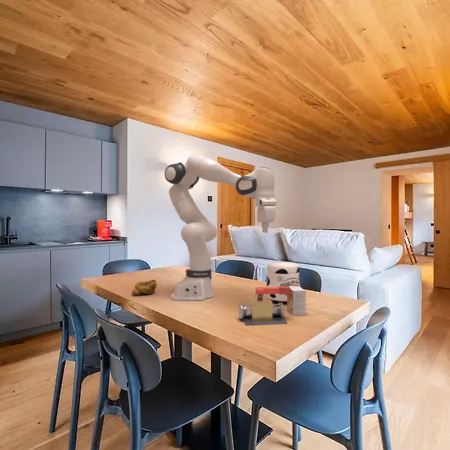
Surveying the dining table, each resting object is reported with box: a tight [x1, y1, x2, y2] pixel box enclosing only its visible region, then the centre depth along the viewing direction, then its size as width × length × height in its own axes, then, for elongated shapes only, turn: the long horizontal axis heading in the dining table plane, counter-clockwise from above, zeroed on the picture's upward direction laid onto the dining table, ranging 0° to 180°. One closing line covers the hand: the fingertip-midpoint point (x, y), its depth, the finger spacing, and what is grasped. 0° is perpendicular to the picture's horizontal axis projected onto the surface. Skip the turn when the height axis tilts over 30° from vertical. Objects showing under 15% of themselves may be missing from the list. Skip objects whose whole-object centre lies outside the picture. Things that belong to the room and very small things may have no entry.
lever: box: [254, 286, 290, 296], centre depth 112 cm, size 14×4×3 cm, turn 92°
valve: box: [238, 294, 288, 326], centre depth 112 cm, size 18×12×10 cm
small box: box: [286, 286, 307, 316], centre depth 120 cm, size 8×6×10 cm
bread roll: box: [131, 279, 158, 296], centre depth 153 cm, size 13×10×8 cm
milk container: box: [265, 261, 301, 304], centre depth 138 cm, size 17×17×18 cm
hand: (265, 232), depth 128 cm, fingers closed
